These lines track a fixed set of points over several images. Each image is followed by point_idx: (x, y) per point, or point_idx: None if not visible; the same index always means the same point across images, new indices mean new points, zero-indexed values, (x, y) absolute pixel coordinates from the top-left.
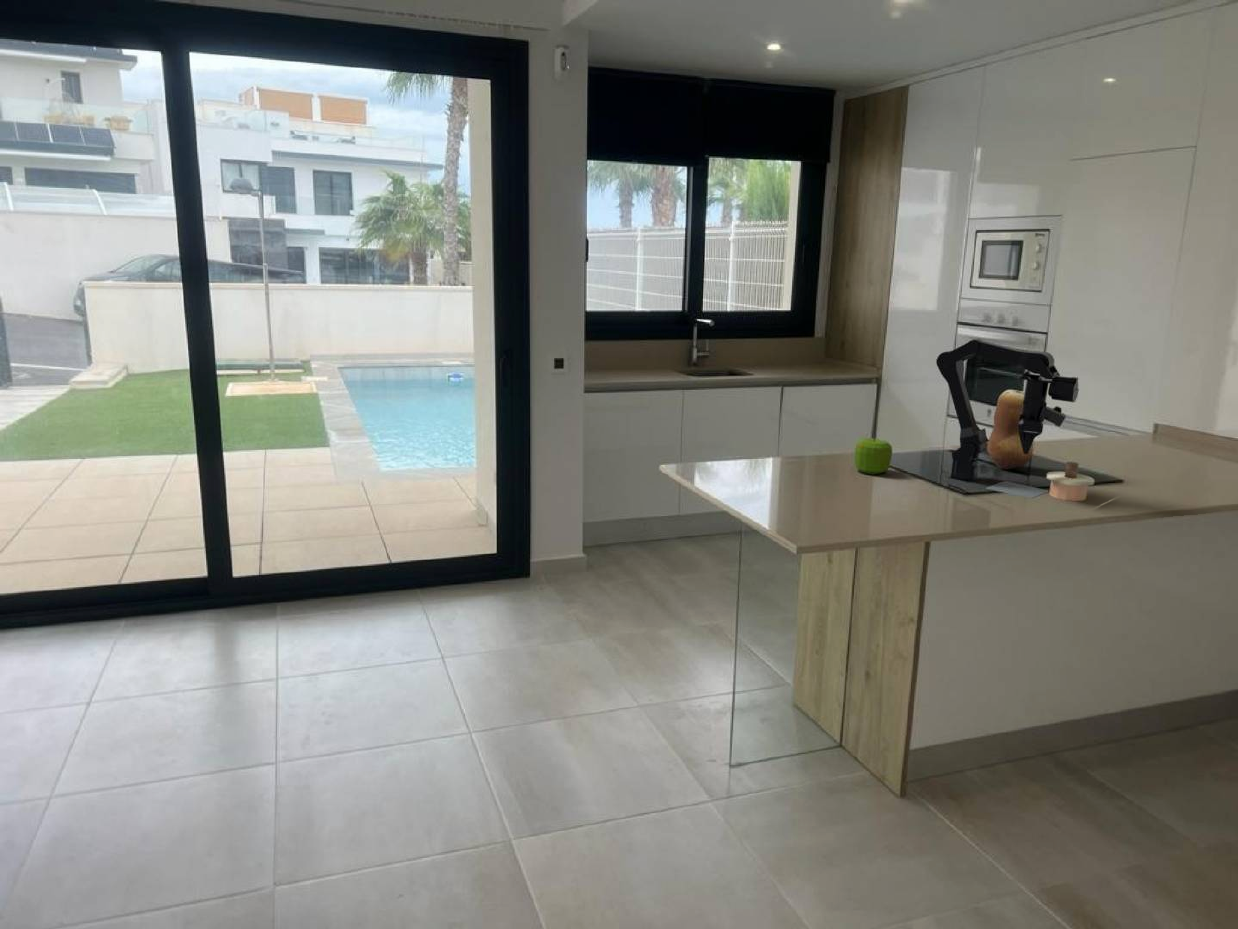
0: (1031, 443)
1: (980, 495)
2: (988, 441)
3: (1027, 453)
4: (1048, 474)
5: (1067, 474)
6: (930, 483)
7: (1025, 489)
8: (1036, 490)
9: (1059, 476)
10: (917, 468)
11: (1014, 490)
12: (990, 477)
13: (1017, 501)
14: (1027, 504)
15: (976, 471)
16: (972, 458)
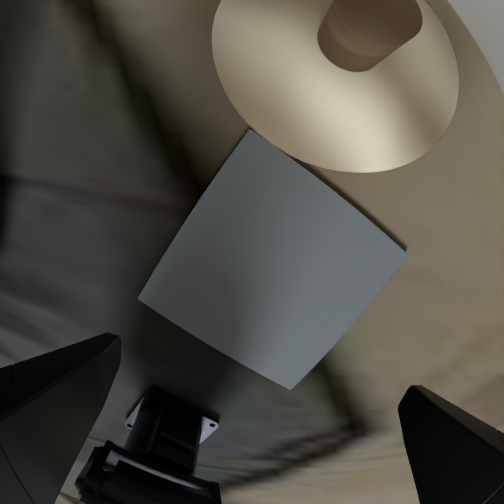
0: (497, 436)
1: (371, 401)
2: (105, 499)
3: (423, 390)
4: (334, 160)
5: (379, 62)
6: (261, 484)
7: (262, 241)
8: (265, 192)
9: (364, 104)
10: None
11: (297, 294)
12: (87, 330)
13: (428, 303)
14: (456, 276)
15: (179, 425)
16: (164, 473)
